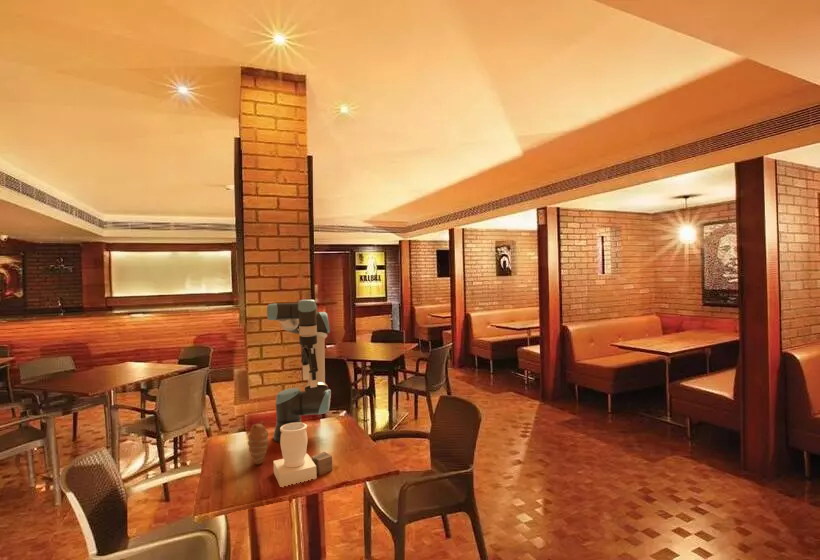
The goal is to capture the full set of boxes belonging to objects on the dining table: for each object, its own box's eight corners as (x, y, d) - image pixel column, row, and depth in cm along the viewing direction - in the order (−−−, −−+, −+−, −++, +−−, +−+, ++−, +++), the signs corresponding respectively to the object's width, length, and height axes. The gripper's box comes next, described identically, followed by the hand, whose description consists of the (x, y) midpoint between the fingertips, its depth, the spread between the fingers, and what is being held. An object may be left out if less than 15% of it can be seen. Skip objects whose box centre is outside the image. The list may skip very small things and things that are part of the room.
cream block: (273, 472, 177) (273, 460, 177) (307, 464, 184) (307, 453, 183) (280, 487, 165) (280, 474, 165) (316, 478, 171) (316, 466, 171)
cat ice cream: (256, 470, 180) (255, 427, 180) (244, 466, 184) (242, 424, 184) (273, 461, 188) (271, 420, 187) (261, 458, 192) (259, 417, 191)
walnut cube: (312, 470, 179) (311, 456, 178) (324, 465, 183) (324, 451, 182) (319, 475, 174) (319, 460, 174) (332, 470, 178) (331, 455, 178)
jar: (312, 458, 178) (311, 422, 178) (300, 470, 168) (299, 431, 167) (288, 457, 180) (287, 421, 180) (275, 468, 170) (274, 430, 170)
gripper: (293, 331, 198) (295, 377, 199) (306, 340, 175) (308, 392, 176) (309, 330, 201) (311, 375, 202) (324, 338, 179) (326, 389, 180)
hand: (309, 383), depth 189 cm, fingers open, 13 cm apart
